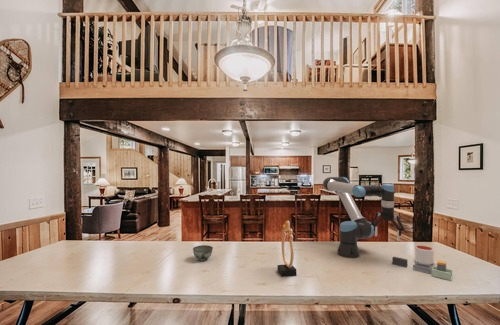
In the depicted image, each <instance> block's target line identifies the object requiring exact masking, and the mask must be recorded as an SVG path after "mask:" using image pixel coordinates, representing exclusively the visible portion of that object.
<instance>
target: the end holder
mask: <svg viewBox="0 0 500 325" xmlns="http://www.w3.org/2000/svg"><path fill="white" fill-rule="evenodd" d="M432 266H433V269H432V273H431V277H433V278H438V279H442V280H446V281H449V282H450V281H452V279H453V269H451V268H446V272H444V271H439V270H437V265H432Z"/></svg>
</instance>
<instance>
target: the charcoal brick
mask: <svg viewBox="0 0 500 325" xmlns="http://www.w3.org/2000/svg"><path fill="white" fill-rule="evenodd" d="M391 263H392V264H391V265H394V266H398V267H402V268H407V267H408V259H407V258H403V257H398V256H393V257H392V262H391Z"/></svg>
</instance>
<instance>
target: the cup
mask: <svg viewBox="0 0 500 325" xmlns="http://www.w3.org/2000/svg"><path fill="white" fill-rule="evenodd" d="M414 251H415V260H414V261H415V262H417V263H422V264H426V265H431V266H433V264H434V248H433V247H430V246H426V245H416V246H415V250H414Z"/></svg>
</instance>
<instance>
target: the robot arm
mask: <svg viewBox="0 0 500 325" xmlns="http://www.w3.org/2000/svg"><path fill="white" fill-rule="evenodd" d="M322 182H323V183H322V187H323V189H324V190H325V191H328V192H335V195H337V196H338V197H339V198H340V200H341V203H342V204H343V207H344V209H345V210H346V213H347V214H348V216H349V218H350V220H347V221H342V222H340V225H339V245H338V248H337V254H338V255H339V256H341V257H343V258H344V257H345V258H350V259H354V258H355V259H356V258H359V257H360V256H361V255H360V249H359V247H358V240H360V239H361V240H363V239H368V238H371V237H373V236H374V237H378V225H379V224H380V223H381V222H382V221H383V220H384V221H388V222H391V223H392V224H393V225H394V226H395V228H396V229H397V234H396V241H397V242H399V241H400V236H402V231H403V232H404V230H405V227H404V224H403V223H402V221H401V219H400V218H401V217H400V215H399V214H398V215H396V214H395V185H394V184H393V183H382V184H381V185H378V184H368V185H359V184H354V183H350V181H349V179H348V178H347V177H345V176H336V177H335V176H329V177H326V178H325V179H324V180H323V181H322ZM352 196H354V197H356V198H362V197H363V198H364V197H380V198H381V202H380V203H381V204H380V205H381V211H380V212H376V213H375V217H374V218H373V220H372V221H368V220H367V218H366V217H364V216H363V215H362V214H361V211H360V209H359V208H358V205H357V203H356V202H355V200H354V198H353V197H352ZM379 216H380V217H381V218H379ZM378 218H379V220H378ZM394 218H395V219H396V220H395V219H394ZM376 221H377V222H376ZM396 221H397V222H396Z"/></svg>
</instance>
